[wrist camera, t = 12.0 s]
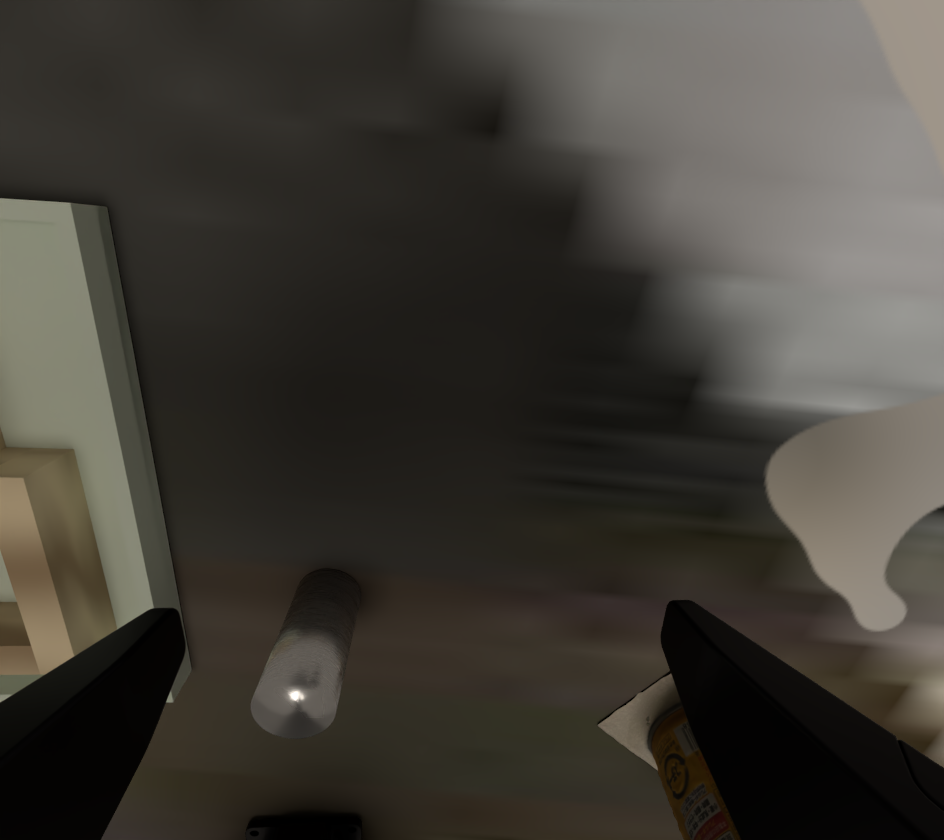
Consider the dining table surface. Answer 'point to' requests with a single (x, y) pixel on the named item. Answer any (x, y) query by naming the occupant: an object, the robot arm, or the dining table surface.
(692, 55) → the dining table surface
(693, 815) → the condiment
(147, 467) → the tray
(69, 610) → the wooden block frame
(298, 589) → the cylinder
